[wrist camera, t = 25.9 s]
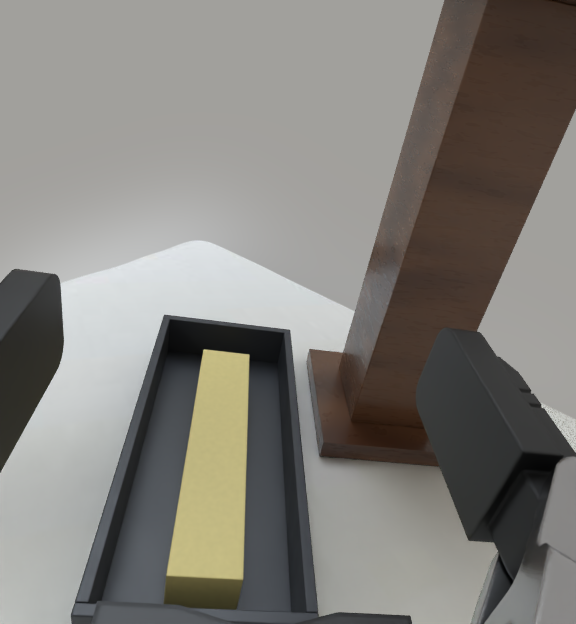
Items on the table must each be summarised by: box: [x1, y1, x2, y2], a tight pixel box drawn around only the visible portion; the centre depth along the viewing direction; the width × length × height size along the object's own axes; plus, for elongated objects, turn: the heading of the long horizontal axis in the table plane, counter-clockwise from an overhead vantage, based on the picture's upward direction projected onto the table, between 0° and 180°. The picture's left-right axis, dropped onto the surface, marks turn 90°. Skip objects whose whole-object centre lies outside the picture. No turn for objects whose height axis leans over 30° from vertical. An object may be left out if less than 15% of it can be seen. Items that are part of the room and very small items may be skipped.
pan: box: [71, 315, 319, 624], centre depth 34 cm, size 25×11×4 cm, turn 3°
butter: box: [164, 349, 250, 610], centre depth 33 cm, size 19×4×3 cm, turn 3°
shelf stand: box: [307, 0, 576, 466], centre depth 35 cm, size 14×12×33 cm
